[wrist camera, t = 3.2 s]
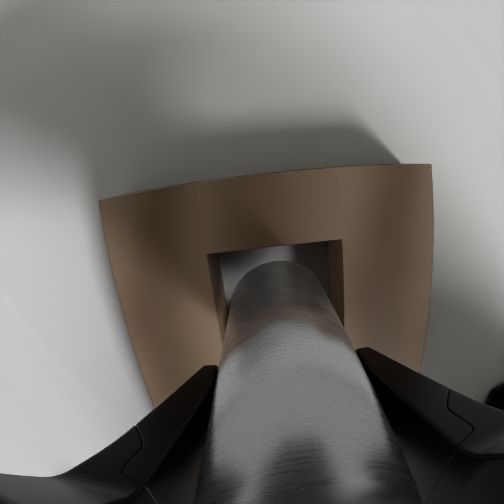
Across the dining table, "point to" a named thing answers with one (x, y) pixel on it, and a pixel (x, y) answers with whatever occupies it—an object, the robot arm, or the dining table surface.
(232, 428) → the lock pin
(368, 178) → the mount block
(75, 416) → the dining table surface
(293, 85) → the dining table surface
